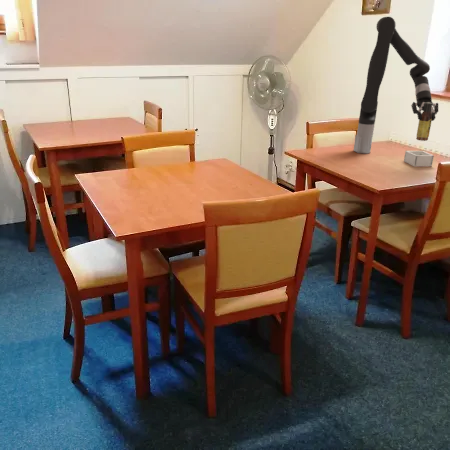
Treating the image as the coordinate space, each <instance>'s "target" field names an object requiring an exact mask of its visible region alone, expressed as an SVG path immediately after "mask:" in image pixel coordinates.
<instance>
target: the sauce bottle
mask: <svg viewBox="0 0 450 450" xmlns="http://www.w3.org/2000/svg"><path fill="white" fill-rule="evenodd" d="M432 103H433V102H432ZM432 103H424V110H422V111H421V114H422V119H421V120H419V119H418V124H417V125H418V126H417V130H416V140H417V141H420V142H425V141H428V140H429V137H430V131H431V127H432V122H433V121H432V115H431V107H433V106H432Z"/></svg>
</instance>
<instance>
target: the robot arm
mask: <svg viewBox="0 0 450 450" xmlns="http://www.w3.org/2000/svg"><path fill="white" fill-rule="evenodd" d="M396 24H397V23H396V21H395V19H394V18H393V17H392V16H384V17H381V18H380V19H379V20H378V21H377V23H376V31H377V39H376V43H375V44H376V45H375V47H374V49H373V51H372V54H371V56H370V60H369V64H368V68H367V76H366V85H365V91H364V94H363V97H362V100H361V102H360V111H359V118H358V123H357V124H358V125H357V131H356V135H355V137H354V143H353V151H354V152H356V153H357V154H370V153H371V150H372V143H373V137H374V130H375V124H376V118H377V111H378V103H379V101H378V99H379V92H380V88H381V84H382V82H383V79H384V76H385V73H386V69H387V64H388V58H389V52H390V45H391V46H392V47H393V48H394V50H395V52H396V53H397V54H398V55H399V57H400V58H401V60H402V61H403V62H404V64H405V65H407V66H411V65H414V64H415V65H414V66H413V67H411V68H410V70H409V76H410V77H411V79H412V81H413V83H414V89H415V91H414V92H415V93H414V94H415V100H416V102H414V101H413V102H412V104H411V105H410V106H411V109H412V112H413V114H416V115H417V119H418V121H419V120H421V119H422V111H423V110H424V103H432V107H431V115H432V121H431V122H433V121H435V119H436V117H437V116H436V115H437V114H438V112H439V103H438V102H436V103H434V102H433V101H432V100H433V99H432V93H431V88H430V85H429V78H428V77H427V76H425V75H426V74H428V73H429V72H430V70H431V66H430V64H429V63H428V62H427V61H426V60H424V59H423V58H421V56H420V55H419V56H418V54H417V53H416V52H415V51H414V49H413V48H412V47H411V45H410V44H409V43H408V42H407V41H406V40H405V39H404V38H403V37H402V36H401V35H400V34H399V32H398V30H397V29H396V26H397V25H396Z"/></svg>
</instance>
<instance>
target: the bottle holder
mask: <svg viewBox="0 0 450 450" xmlns="http://www.w3.org/2000/svg"><path fill="white" fill-rule="evenodd" d="M434 157H435V156H434V154H432V153H429V152H427V151H424V150H405V151H404V158H403V162H404V163H406V164H409V165H411V166H412V167H432V166H433V162H434Z"/></svg>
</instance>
